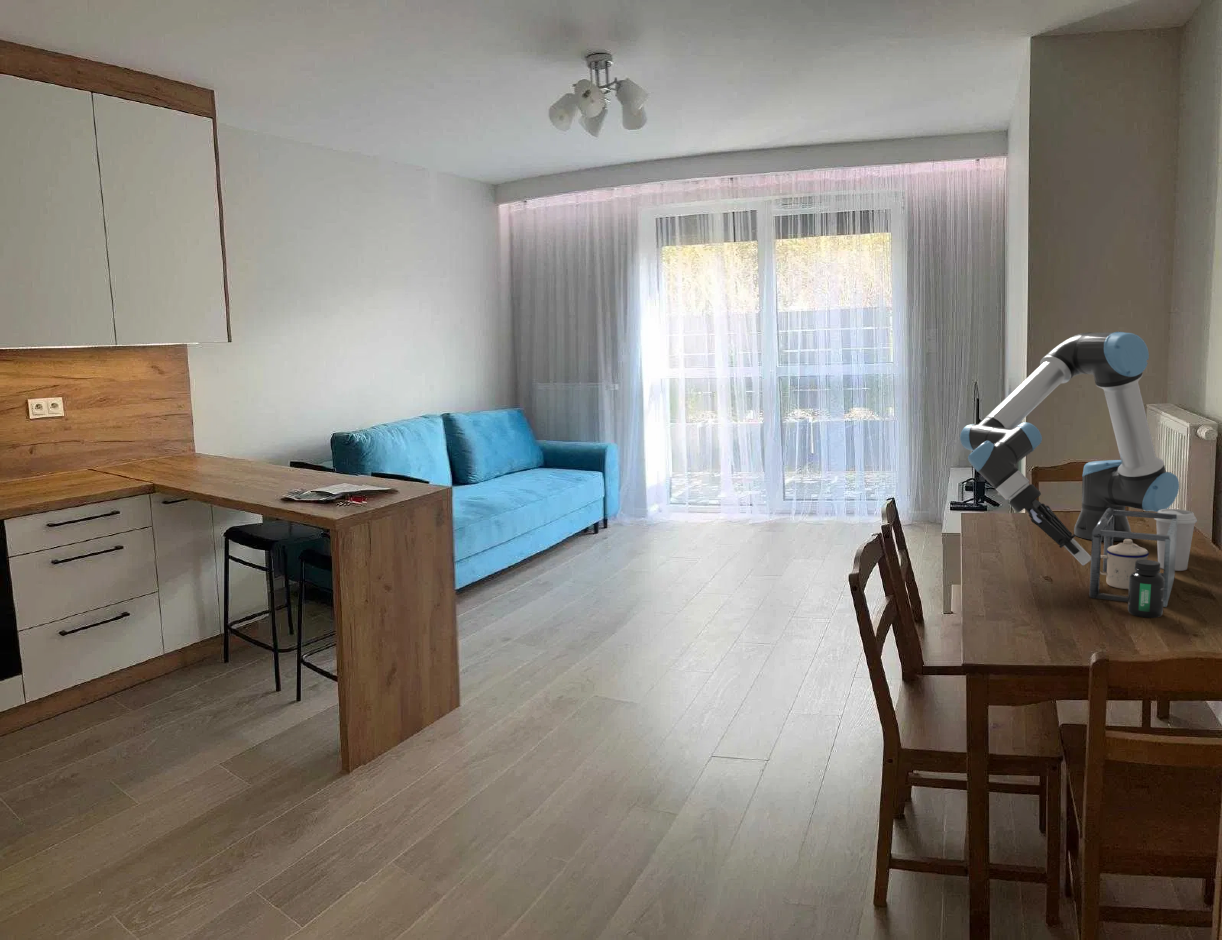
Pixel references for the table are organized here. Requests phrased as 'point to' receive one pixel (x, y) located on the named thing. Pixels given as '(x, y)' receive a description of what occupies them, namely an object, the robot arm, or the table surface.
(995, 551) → the table surface
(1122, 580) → the teacup with lid
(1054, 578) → the table surface
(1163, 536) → the box
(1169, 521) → the coffee cup
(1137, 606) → the supplement bottle
